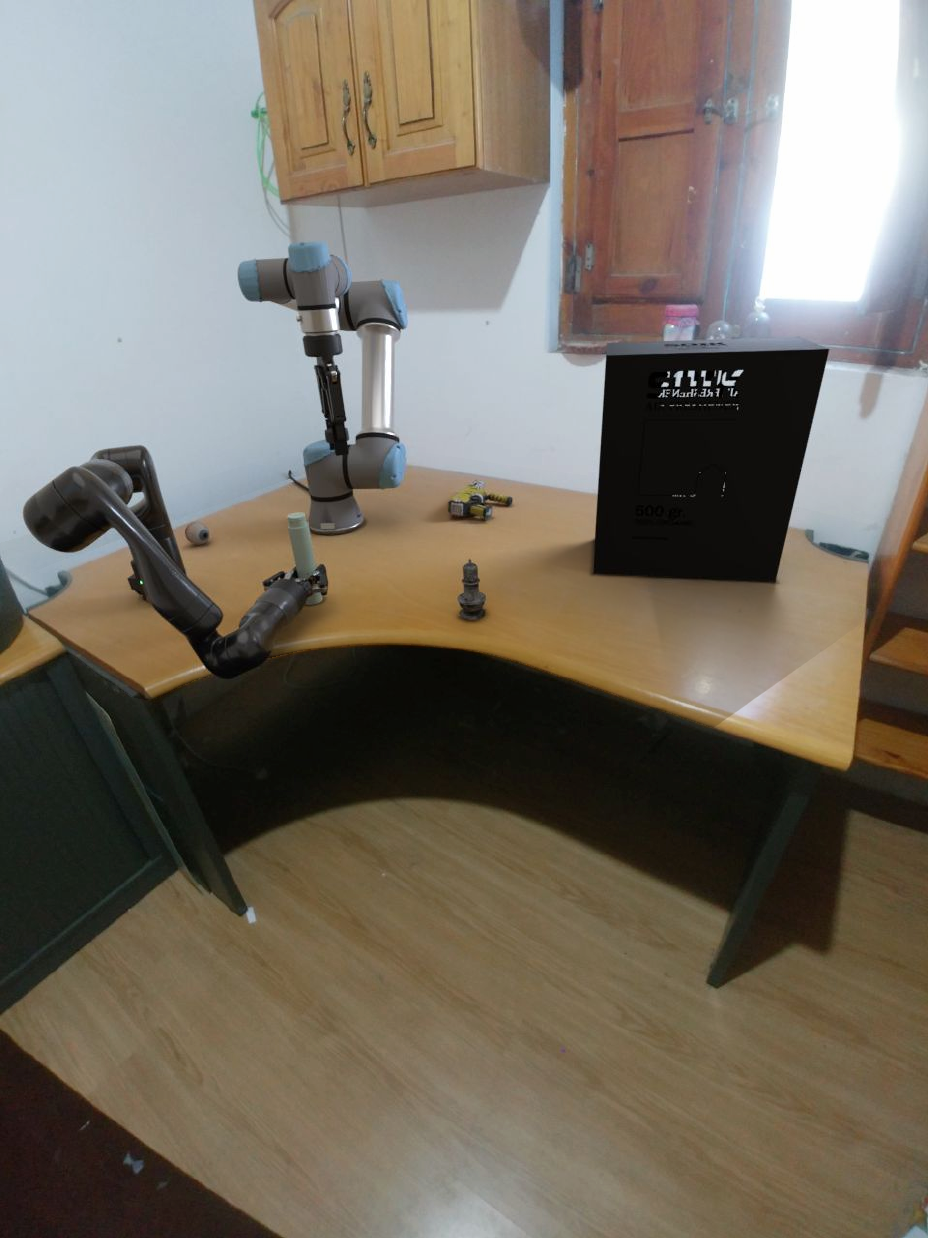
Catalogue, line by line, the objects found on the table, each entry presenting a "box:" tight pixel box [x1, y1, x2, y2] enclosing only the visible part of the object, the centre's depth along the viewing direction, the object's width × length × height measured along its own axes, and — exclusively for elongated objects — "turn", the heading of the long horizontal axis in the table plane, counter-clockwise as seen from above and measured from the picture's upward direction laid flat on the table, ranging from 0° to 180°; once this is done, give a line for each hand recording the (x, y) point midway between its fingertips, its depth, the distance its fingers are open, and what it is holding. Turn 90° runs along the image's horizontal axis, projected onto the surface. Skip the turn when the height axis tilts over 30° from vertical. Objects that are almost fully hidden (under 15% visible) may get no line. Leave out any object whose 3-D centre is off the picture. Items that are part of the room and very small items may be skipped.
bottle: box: [286, 511, 324, 606], centre depth 126 cm, size 4×4×19 cm
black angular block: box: [592, 336, 830, 583], centre depth 128 cm, size 38×20×45 cm, turn 78°
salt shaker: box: [456, 558, 487, 621], centre depth 119 cm, size 6×6×12 cm
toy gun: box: [447, 479, 514, 521], centre depth 175 cm, size 5×24×15 cm
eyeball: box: [184, 521, 211, 546], centre depth 161 cm, size 6×6×6 cm
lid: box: [324, 427, 350, 443], centre depth 129 cm, size 5×5×2 cm
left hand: (312, 567), depth 130 cm, fingers closed on bottle, 4 cm apart
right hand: (339, 451), depth 131 cm, fingers closed on lid, 5 cm apart
